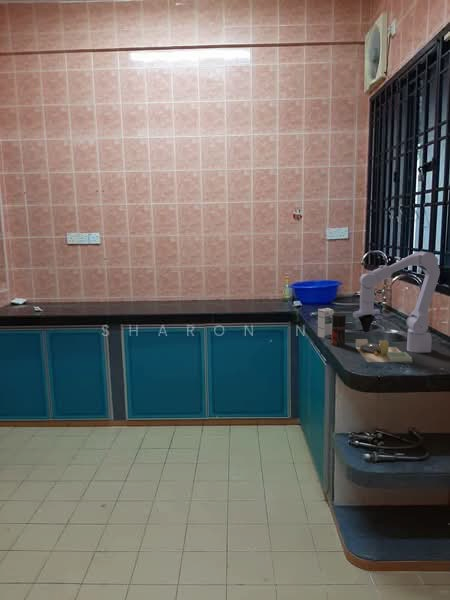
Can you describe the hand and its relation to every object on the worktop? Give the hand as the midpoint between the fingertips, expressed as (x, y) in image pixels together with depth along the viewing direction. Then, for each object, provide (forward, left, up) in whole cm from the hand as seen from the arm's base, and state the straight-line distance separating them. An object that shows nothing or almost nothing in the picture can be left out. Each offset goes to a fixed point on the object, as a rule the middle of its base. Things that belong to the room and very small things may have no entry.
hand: (365, 331), depth 193 cm
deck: (-6, +6, -9) cm, 12 cm away
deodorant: (+10, -9, -10) cm, 17 cm away
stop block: (-6, +7, -9) cm, 13 cm away
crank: (-2, +1, -8) cm, 8 cm away
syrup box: (+13, -26, -10) cm, 31 cm away
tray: (-10, +13, -9) cm, 19 cm away
